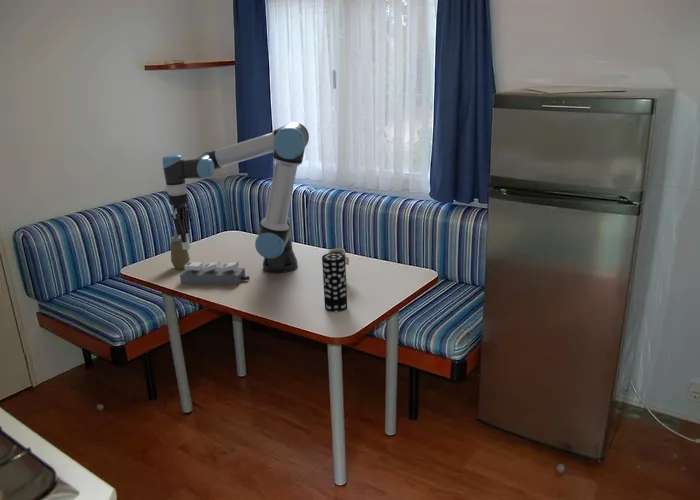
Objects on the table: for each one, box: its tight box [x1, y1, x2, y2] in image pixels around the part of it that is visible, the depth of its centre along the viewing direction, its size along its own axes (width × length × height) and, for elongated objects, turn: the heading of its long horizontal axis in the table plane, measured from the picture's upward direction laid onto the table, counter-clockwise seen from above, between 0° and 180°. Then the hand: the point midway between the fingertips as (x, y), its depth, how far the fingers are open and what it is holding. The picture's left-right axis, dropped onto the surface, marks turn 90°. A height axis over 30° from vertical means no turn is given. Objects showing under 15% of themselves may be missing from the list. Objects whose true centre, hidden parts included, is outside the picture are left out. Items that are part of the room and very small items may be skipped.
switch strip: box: [179, 266, 250, 286], centre depth 245 cm, size 28×9×5 cm, turn 83°
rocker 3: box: [220, 261, 240, 272], centre depth 243 cm, size 6×5×2 cm
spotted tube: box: [321, 252, 348, 313], centre depth 213 cm, size 8×8×20 cm
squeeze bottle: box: [170, 228, 191, 270], centre depth 259 cm, size 8×8×18 cm
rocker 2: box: [203, 260, 221, 272], centre depth 244 cm, size 6×5×2 cm
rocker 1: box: [184, 261, 204, 271], centre depth 245 cm, size 6×5×2 cm
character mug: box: [327, 248, 350, 266], centre depth 238 cm, size 11×7×13 cm, turn 60°
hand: (186, 248), depth 243 cm, fingers closed
